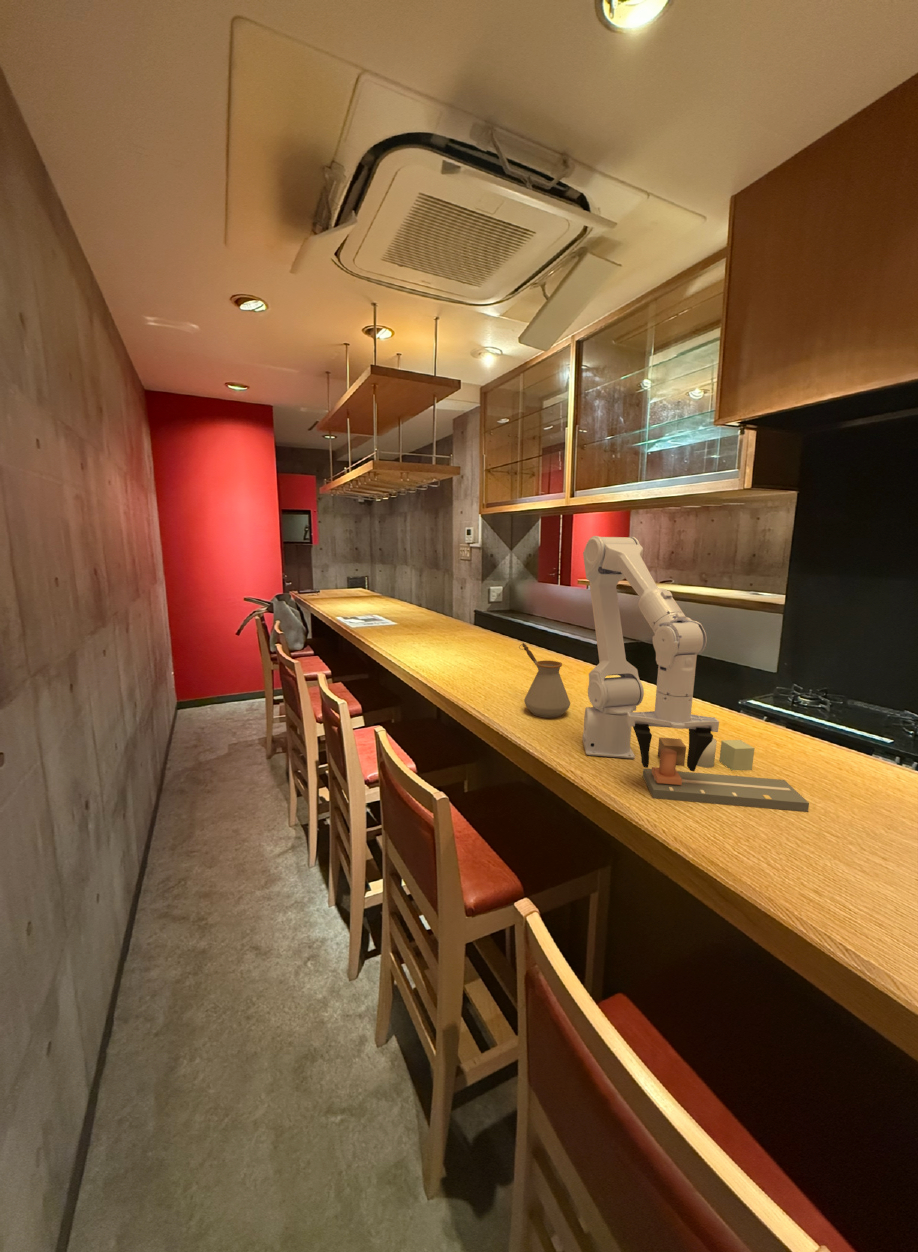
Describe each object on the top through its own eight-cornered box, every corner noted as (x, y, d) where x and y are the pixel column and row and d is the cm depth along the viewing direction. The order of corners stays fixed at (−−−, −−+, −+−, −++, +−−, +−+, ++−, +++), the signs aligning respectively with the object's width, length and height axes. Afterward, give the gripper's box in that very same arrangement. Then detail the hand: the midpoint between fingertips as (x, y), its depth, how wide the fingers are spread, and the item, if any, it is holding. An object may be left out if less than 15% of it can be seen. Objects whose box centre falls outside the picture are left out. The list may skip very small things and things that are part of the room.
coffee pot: (578, 718, 120) (582, 658, 117) (536, 722, 116) (539, 661, 114) (538, 692, 140) (540, 641, 137) (501, 696, 136) (503, 643, 134)
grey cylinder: (695, 766, 94) (697, 742, 94) (688, 758, 98) (691, 734, 98) (717, 768, 94) (719, 744, 93) (709, 759, 98) (712, 736, 97)
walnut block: (662, 764, 95) (664, 745, 95) (657, 756, 99) (659, 737, 99) (684, 766, 95) (686, 746, 94) (678, 757, 99) (680, 738, 98)
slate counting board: (652, 797, 82) (653, 788, 82) (642, 776, 90) (643, 767, 90) (807, 811, 79) (809, 802, 79) (783, 787, 87) (784, 778, 86)
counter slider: (657, 782, 84) (659, 755, 83) (651, 772, 88) (653, 746, 87) (681, 784, 83) (684, 757, 83) (675, 774, 87) (677, 747, 86)
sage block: (732, 771, 93) (735, 748, 92) (719, 761, 97) (721, 740, 96) (751, 770, 94) (754, 748, 93) (737, 761, 97) (740, 739, 97)
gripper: (634, 696, 80) (628, 773, 82) (729, 701, 78) (720, 781, 80) (626, 684, 87) (621, 756, 89) (713, 689, 85) (705, 762, 87)
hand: (667, 766), depth 85 cm, fingers open, 7 cm apart
